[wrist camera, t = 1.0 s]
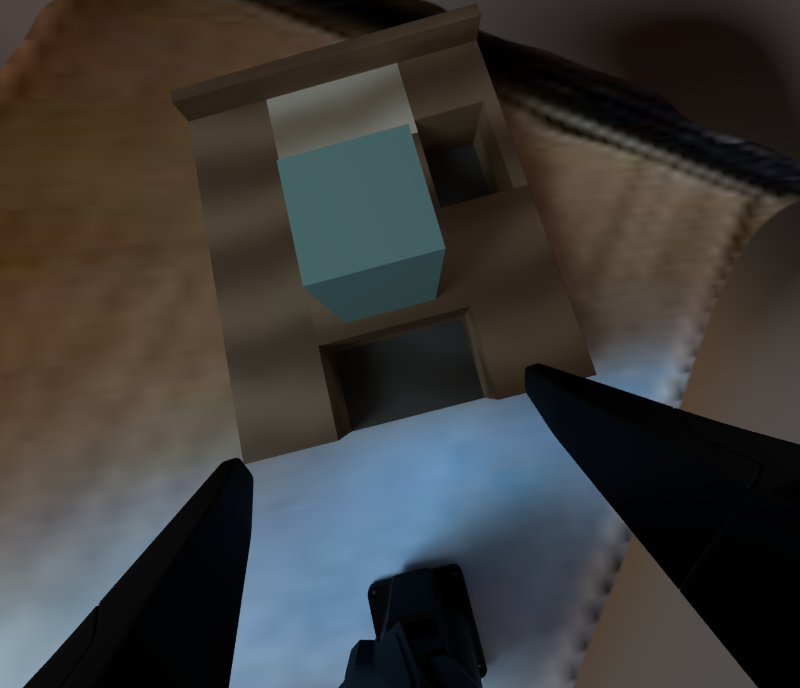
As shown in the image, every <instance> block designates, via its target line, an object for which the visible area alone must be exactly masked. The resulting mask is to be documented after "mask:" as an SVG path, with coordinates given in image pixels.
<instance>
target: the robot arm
mask: <svg viewBox="0 0 800 688" xmlns="http://www.w3.org/2000/svg"><path fill="white" fill-rule="evenodd" d="M525 390H526V393H527V395H528V396H529V398H530V399H531V401H532V402H533V404H534V405H535V407H536V408H537V410H538V412H539V413H540V415H541V416H542V418H543V419H544V421H545V422H546V424H547V425H548V427H549V428H550V430H551V431H552V433H553V434H554V435H555V437H556V438H557V439H558V441H559V442H560V443H561V444H562V446H563V447H564V448H565V449H566V451H567V452H568V453H569V454H570V455H571V457H572V458H573V459H574V460H575V462H576V463H577V464H578V465H579V467H580V468H581V469H582V470H583V472H584V473H585V474H586V475H587V477H588V478H589V479H590V480H591V481H592V483H593V484H594V485H595V486H596V488H597V489H598V490H599V491H600V493H601V494H602V495H603V496H604V498H605V499H606V500H607V501H608V502H609V504H610V505H611V506H612V507H613V509H614V510H615V511H616V512H617V514H618V515H619V516H620V517H621V519H622V520H623V521H624V522H625V524H626V525H627V526H628V527H629V528H630V530H631V531H632V532H633V533H634V535H635V536H636V537H637V538H638V540H639V541H640V542H641V543H642V545H643V546H644V547H645V548H646V549H647V551H648V552H649V553H650V554H651V556H652V557H653V558H654V559H655V561H656V562H657V563H658V564H659V566H660V567H661V568H662V569H663V571H664V572H665V573H666V574H667V575H668V577H669V578H670V579H671V580H672V582H673V583H674V584H675V585H676V586H677V588H679V589H680V592H681V593H682V594H683V595H684V597H685V598H686V599H687V601H688V602H689V603H690V604H691V605H692V607H693V608H694V609H695V610H696V612H697V613H698V614H699V615H700V617H701V618H702V619H703V620H704V622H705V623H706V624H707V625H708V626H709V628H710V629H711V630H712V631H713V633H714V634H715V635H716V636H717V638H718V639H719V640H720V641H721V643H722V644H723V645H724V646H725V647H726V649H727V650H728V651H729V652H730V654H731V655H732V656H733V657H734V659H735V660H736V661H737V662H738V664H739V665H740V666H741V667H742V669H743V670H744V671H745V672H746V673H747V675H748V676H749V677H750V678H751V680H752V681H753V682H754V683H755V685H756V686H757V687H758V688H800V445H799V444H796V443H792V442H788V441H785V440H781V439H777V438H774V437H770V436H767V435H763V434H759V433H756V432H752V431H749V430H745V429H742V428H738V427H734V426H731V425H728V424H724V423H721V422H718V421H715V420H711V419H708V418H705V417H702V416H699V415H695V414H692V413H689V412H686V411H683V410H680V409H677V408H674V409H673V407H671V406H668V405H665V404H662V403H659V402H656V401H653V400H650V399H647V398H644V397H641V396H638V395H635V394H632V393H629V392H626V391H623V390H620V389H616V388H613V387H610V386H607V385H604V384H601V383H598V382H595V381H592V380H589V379H586V378H583V377H580V376H577V375H574V374H571V373H568V372H565V371H562V370H559V369H556V368H553V367H550V366H547V365H544V364H541V363H536V364H533V365H529V366H527V367H526V368H525ZM252 507H253V476H252V474H251V473H250V471H249V470H248V469H247V467H246V466H245V465H244V463H243V462H242V461H241V460H240V459H239V458H233V459H230V460H227V461H224V462H222V463H221V464H220V465H219V466H218V468H217V469H216V470H215V471H214V472H213V473H212V474H211V476H210V477H209V478H208V479H207V480H206V481H205V482H204V484H203V485H202V486H201V487H200V488H199V489H198V490H197V492H196V493H195V494H194V495H193V496H192V497H191V498H190V500H189V501H188V502H187V503H186V504H185V505H184V506H183V508H182V509H181V510H180V511H179V512H178V513H177V514H176V516H175V517H174V518H173V519H172V520H171V521H170V522H169V524H168V525H167V526H166V527H165V528H164V529H163V530H162V532H161V533H160V534H159V535H158V536H157V537H156V538H155V540H154V541H153V542H152V543H151V544H150V545H149V546H148V548H147V549H146V550H145V551H144V552H143V553H142V554H141V556H140V557H139V558H138V559H137V560H136V561H135V562H134V564H133V565H132V566H131V567H130V568H129V569H128V570H127V572H126V573H125V574H124V575H123V576H122V577H121V578H120V580H119V581H118V582H117V583H116V584H115V585H114V586H113V588H112V589H111V590H110V591H109V592H108V593H107V594H106V596H105V597H104V598H103V599H102V600H101V601H100V603H99V606H96V607H95V608H94V609H93V610H92V612H91V613H90V614H89V615H88V616H87V617H86V618H85V620H84V621H83V622H82V623H81V624H80V625H79V626H78V628H77V629H76V630H75V631H74V632H73V633H72V634H71V635H70V637H69V638H68V639H67V640H66V641H65V642H64V643H63V644H62V645H61V647H60V648H59V649H58V650H57V651H56V652H55V653H54V654H53V656H52V657H51V658H50V659H49V660H48V661H47V662H46V663H45V664H44V665H43V666H42V668H41V669H40V670H39V671H38V672H37V673H36V674H35V675H34V676H33V677H32V678H31V679H30V680H29V682H28V683H27V684H26V685H25V686H24V687H23V688H229V682H230V675H231V669H232V662H233V655H234V648H235V642H236V635H237V628H238V621H239V615H240V608H241V601H242V594H243V588H244V581H245V574H246V567H247V561H248V554H249V547H250V540H251V529H252ZM454 571H456V572H458V575H456V576H453V575H452V572H454ZM373 591H377V592H378V593H379V594H378V595H374V594H373ZM368 600H369V605H370V610H371V614H372V619H373V624H374V629H375V634H376V639H375V640H359V642H358V643H357V644H356V645H355V646H354V647H353V648H352V649H351V653H350V657H349V661H348V665H347V669H346V674H345V680H344V682H343V683H342V684H341V685H340V686H339V688H483V687H482V682H481V678H483V677H484V676H485V675H486V673H487V667H486V663H485V659H484V655H483V651H482V647H481V643H480V639H479V635H478V632H477V628H476V624H475V620H474V616H473V612H472V608H471V604H470V601H469V597H468V593H467V589H466V585H465V581H464V577H463V574H462V570H461V568H460V566H459V565H457V564H450V565H446V566H442V567H438V568H434V569H430V568H424V569H419V570H415V571H411V572H407V573H403V574H399V575H395V576H394V577H393V579H388V580H384V581H380V582H376V583H373V584H371V585H370V587H369V590H368ZM478 665H481V667H480V668H478Z"/></svg>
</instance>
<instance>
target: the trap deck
mask: <svg viewBox="0 0 800 688" xmlns="http://www.w3.org/2000/svg"><path fill="white" fill-rule="evenodd" d="M480 17H481V13H480V11H479V8H478V5H477V4H473V5H469V6H466V7H462V8H459V9H455V10H452V11H448V12H445V13H441V14H438V15H434V16H430V17H427V18H423V19H420V20H416V21H413V22H409V23H406V24H402V25H399V26H395V27H392V28H388V29H385V30H381V31H378V32H374V33H371V34H367V35H364V36H360V37H357V38H353V39H350V40H346V41H343V42H339V43H336V44H332V45H329V46H325V47H322V48H318V49H315V50H311V51H308V52H304V53H300V54H297V55H293V56H290V57H286V58H283V59H279V60H276V61H272V62H269V63H265V64H262V65H258V66H255V67H251V68H248V69H244V70H241V71H237V72H234V73H230V74H227V75H223V76H220V77H216V78H213V79H209V80H206V81H202V82H199V83H195V84H192V85H188V86H185V87H181V88H178V89H174V90H171V97H172V103H173V104H174V105H175V106H176V107H177V108H178V109H179V111H180V112H181V113H182V114H183V115H184V116H185V118H186V119H187V120H188V121H189V125H190V131H191V137H192V144H193V150H194V156H195V162H196V169H197V175H198V181H199V187H200V194H201V200H202V206H203V212H204V219H205V225H206V231H207V237H208V244H209V250H210V256H211V262H212V269H213V275H214V281H215V287H216V294H217V300H218V306H219V312H220V319H221V325H222V331H223V337H224V343H225V350H226V356H227V362H228V368H229V375H230V381H231V387H232V393H233V400H234V406H235V412H236V418H237V425H238V431H239V437H240V443H241V450H242V456H243V462H244V464H247V463H251V462H255V461H259V460H263V459H267V458H271V457H275V456H279V455H283V454H287V453H291V452H295V451H299V450H302V449H306V448H310V447H314V446H318V445H322V444H326V443H330V442H334V441H338V440H340V439H341V438H343V437H344V436H346V435H347V434H349V433H350V432H352V431H355V430H359V429H363V428H367V427H371V426H375V425H379V424H383V423H387V422H390V421H394V420H398V419H402V418H406V417H410V416H414V415H418V414H422V413H426V412H430V411H434V410H438V409H442V408H445V407H449V406H453V405H457V404H461V403H465V402H469V401H473V400H477V399H481V398H491V399H497V400H499V399H503V398H507V397H511V396H515V395H519V394H523V393H526V390H525V368H526V367H527V366H529V365H533V364H536V363H541V364H544V365H547V366H550V367H553V368H556V369H559V370H562V371H565V372H568V373H571V374H574V375H577V376H580V377H583V378H586V377H590V376H594V375H597V374H596V372H595V369H594V366H593V363H592V361H591V358H590V355H589V352H588V349H587V347H586V344H585V341H584V338H583V335H582V333H581V330H580V327H579V324H578V322H577V319H576V316H575V313H574V310H573V308H572V305H571V302H570V299H569V296H568V294H567V291H566V288H565V285H564V283H563V280H562V277H561V274H560V271H559V269H558V266H557V263H556V260H555V257H554V255H553V252H552V249H551V246H550V243H549V241H548V238H547V235H546V232H545V230H544V227H543V224H542V221H541V218H540V216H539V213H538V210H537V207H536V204H535V202H534V199H533V196H532V193H531V191H530V188H529V185H528V182H527V179H526V177H525V174H524V171H523V168H522V165H521V163H520V160H519V157H518V154H517V152H516V149H515V146H514V143H513V140H512V138H511V135H510V132H509V129H508V126H507V124H506V121H505V118H504V115H503V112H502V110H501V107H500V104H499V101H498V99H497V96H496V93H495V90H494V87H493V85H492V82H491V79H490V76H489V73H488V71H487V68H486V65H485V62H484V60H483V57H482V54H481V51H480V48H479V46H478V43H477V36H478V30H479V24H480ZM405 124H409V127H410V130H411V134H412V137H413V140H414V144H415V147H416V150H417V154H418V157H419V161H420V164H421V167H422V171H423V174H424V177H425V181H426V184H427V187H428V191H429V194H430V198H431V201H432V204H433V208H434V211H435V214H436V218H437V221H438V224H439V228H440V231H441V235H442V238H443V241H444V245H445V248H446V249H445V254H444V259H443V264H442V269H441V274H440V279H439V284H438V289H437V294H436V299H435V300H431V301H427V302H424V303H420V304H416V305H412V306H408V307H405V308H401V309H397V310H393V311H389V312H386V313H382V314H378V315H374V316H370V317H367V318H363V319H359V320H355V321H351V322H348V323H344V322H343V321H342V320H341V319H340V318H338V317H337V316H336V315H335V314H334V313H333V312H332V311H330V310H329V309H328V308H327V307H326V306H325V305H324V304H322V303H321V302H320V301H319V300H318V299H317V298H316V297H315V296H313V295H312V294H311V293H310V292H309V291H308V290H307V289H305V288H304V287H303V284H302V279H301V274H300V270H299V265H298V260H297V255H296V251H295V246H294V241H293V236H292V231H291V227H290V222H289V217H288V212H287V208H286V203H285V198H284V193H283V189H282V184H281V179H280V174H279V170H278V165H277V160H279V159H282V158H286V157H290V156H293V155H297V154H300V153H304V152H308V151H311V150H315V149H319V148H322V147H326V146H329V145H333V144H337V143H340V142H344V141H347V140H351V139H355V138H358V137H362V136H365V135H369V134H373V133H376V132H380V131H384V130H387V129H391V128H394V127H398V126H402V125H405Z"/></svg>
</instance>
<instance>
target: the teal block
mask: <svg viewBox="0 0 800 688" xmlns="http://www.w3.org/2000/svg"><path fill="white" fill-rule="evenodd" d="M277 165H278V170H279V174H280V179H281V184H282V189H283V193H284V198H285V203H286V208H287V212H288V217H289V222H290V227H291V231H292V236H293V241H294V246H295V251H296V255H297V260H298V265H299V270H300V274H301V279H302V284H303V287H304V288H305V289H307V290H308V291H309V292H310V293H311V294H312V295H313V296H315V297H316V298H317V299H318V300H319V301H320V302H321V303H322V304H324V305H325V306H326V307H327V308H328V309H329V310H330V311H332V312H333V313H334V314H335V315H336V316H337V317H338V318H340V319H341V320H342V321H343V322H344V323H348V322H351V321H355V320H359V319H363V318H367V317H370V316H374V315H378V314H382V313H386V312H389V311H393V310H397V309H401V308H405V307H408V306H412V305H416V304H420V303H424V302H427V301H431V300H435V299H436V294H437V289H438V284H439V279H440V274H441V269H442V264H443V259H444V254H445V249H446V248H445V245H444V241H443V238H442V235H441V231H440V228H439V224H438V221H437V218H436V214H435V211H434V208H433V204H432V201H431V198H430V194H429V191H428V187H427V184H426V181H425V177H424V174H423V171H422V167H421V164H420V161H419V157H418V154H417V150H416V147H415V144H414V140H413V137H412V134H411V130H410V127H409V124H405V125H402V126H398V127H394V128H391V129H387V130H384V131H380V132H376V133H373V134H369V135H365V136H362V137H358V138H355V139H351V140H347V141H344V142H340V143H337V144H333V145H329V146H326V147H322V148H319V149H315V150H311V151H308V152H304V153H300V154H297V155H293V156H290V157H286V158H282V159H279V160H277Z"/></svg>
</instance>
